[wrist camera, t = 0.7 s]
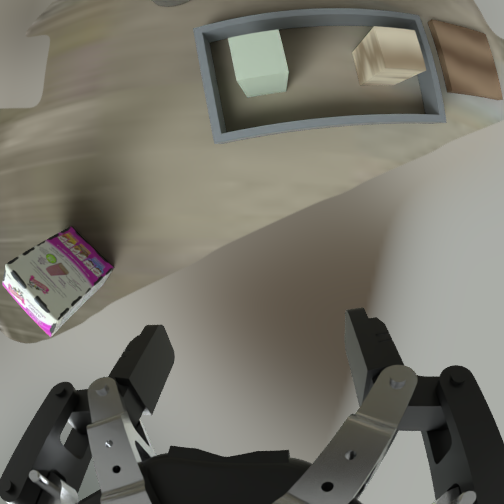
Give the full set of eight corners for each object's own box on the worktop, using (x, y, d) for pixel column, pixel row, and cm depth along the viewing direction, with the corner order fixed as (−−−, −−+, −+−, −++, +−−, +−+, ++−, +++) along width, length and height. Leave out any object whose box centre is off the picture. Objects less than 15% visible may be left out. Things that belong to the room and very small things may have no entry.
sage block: (240, 64, 31) (227, 38, 22) (278, 57, 30) (278, 29, 21) (247, 97, 33) (236, 80, 23) (285, 91, 32) (288, 72, 23)
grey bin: (201, 38, 30) (193, 28, 26) (408, 24, 25) (418, 15, 22) (221, 143, 35) (214, 143, 31) (432, 123, 31) (446, 122, 27)
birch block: (351, 51, 29) (373, 25, 19) (384, 52, 28) (414, 29, 19) (359, 85, 30) (386, 67, 21) (393, 85, 30) (426, 70, 20)
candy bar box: (62, 245, 43) (0, 284, 28) (71, 225, 41) (4, 261, 26) (104, 286, 45) (49, 339, 29) (115, 267, 43) (56, 320, 28)
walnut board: (427, 22, 24) (431, 19, 23) (480, 35, 23) (485, 34, 21) (447, 92, 28) (452, 91, 27) (497, 99, 27) (502, 99, 25)
